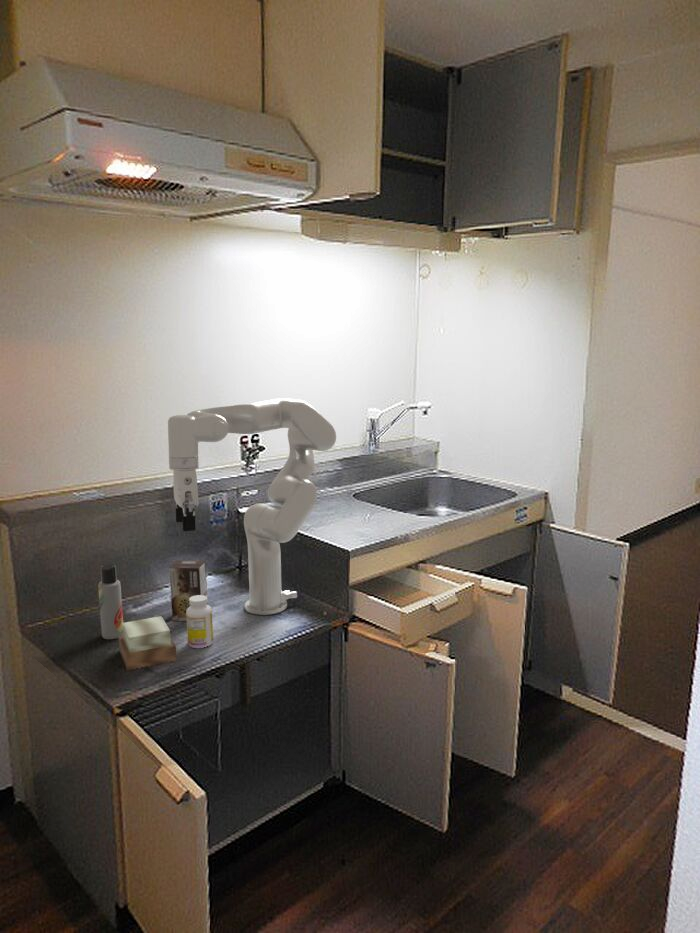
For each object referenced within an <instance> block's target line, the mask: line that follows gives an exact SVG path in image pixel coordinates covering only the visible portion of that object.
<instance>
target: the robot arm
mask: <svg viewBox="0 0 700 933" xmlns="http://www.w3.org/2000/svg"><path fill="white" fill-rule="evenodd" d="M278 429H288V430H287V440H288V444H289V446H288V447H289V454H288V458H287V460H286V461H285V464H284V465H283V466H282V468H281V469H280V471H279V472H278V474H277V475H276V476H275V477H274V479H273V481H272V482H271V484H270V486H269V487H268V490H267V498H268V500H269V501H270V503H271V504H268V503H260V502H259V503H254V504H251V506H249V507H248V508H247V510H246V511H245V513H244V516H243V527H244V532H245V536H246V541H247V555H248V559H247V560H248V586H249V587H248V588H249V590H248V593H249V594H248V595H249V599H248V600H246V602H244V610H245V611H246V612H247V613H249V614H252V615H259V616H268V615H275V614H278V613H281V612H283V611H284V610H286V609H287V607H288V602H287V601H288V600H289V599H296V598H297V597H298V592H297V591H290V590H289V589H288V590H284V591H283V590H282V562H281V560H282V557H281V556H282V555H281V554H282V553H281V546H280V543H281V544H282V543H284V544H285V543H288V542H290V541H291V540H292V539H294V537H295V536H296V535H297V534H298V532H299V531H300V529H301V528H302V527H303V525H304V523H305V522H306V520H307V519H308V517H309V516H310V514H311V512H312V511H313V509H314V508H315V507H316V503H317V500H318V490H317V487H316V486H315V484H314V483H313V482H312V481H310V478H311V476H312V474H313V472H314V469H315V456H314V451H317V452H326V451H328V450H330V449H332V448H333V446H334V445H335V444H336V440H337V433H336V429H335V427H334V426H333V424H331V423H330V422H329V421H328V420H327V419H326V418H325V417H324V416H323V415H322V414H321V413H320V412H318V411H317V409H315V408H314V407H313V406H312V405H311V404H310V403H308V402H306V401H305V400H301V399H293V398H285V397H284V398H275V399H269V400H263V401H258V402H252V403H246V404H244V403H243V404H236V405H228V406H227V405H226V406H219V407H209V408H203V409H197V410H193V411H191V412H189V413H187V414H180V415H179V414H178V415H177V414H176V415H172V416H169V418H168V419H167V433H168V434H167V435H168V436H167V438H168V441H167V442H168V466H169V467H168V468H169V470H172V471H173V473H172V475H173V479H172V480H173V482H172V483H173V498H174V502H175V522H176V523H182V531H183V532H193V531H195V530H196V512H195V507H198V506H199V489H198V478H197V469H199V465H200V464H199V443H200V442H201V443H217V442H220V441H223V439H225V438H226V436H228V434H240V435H252V434H253V435H254V434H259V433H263V432H268V431H273V430H278ZM272 504H274V505H272Z"/></svg>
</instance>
